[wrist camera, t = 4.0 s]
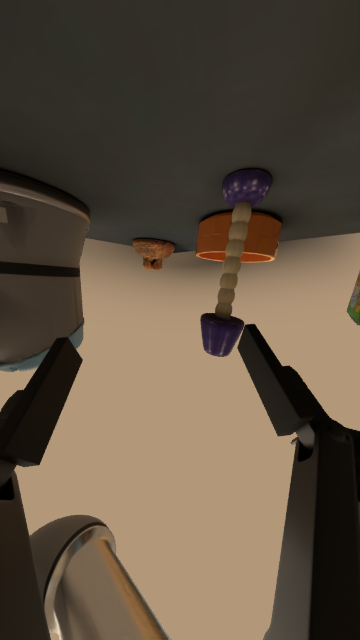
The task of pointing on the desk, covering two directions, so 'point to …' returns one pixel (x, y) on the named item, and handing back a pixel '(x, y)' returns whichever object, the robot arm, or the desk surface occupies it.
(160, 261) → the bell
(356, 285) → the chalk box
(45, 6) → the desk surface
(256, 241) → the orange bowl
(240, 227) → the toy lamp
